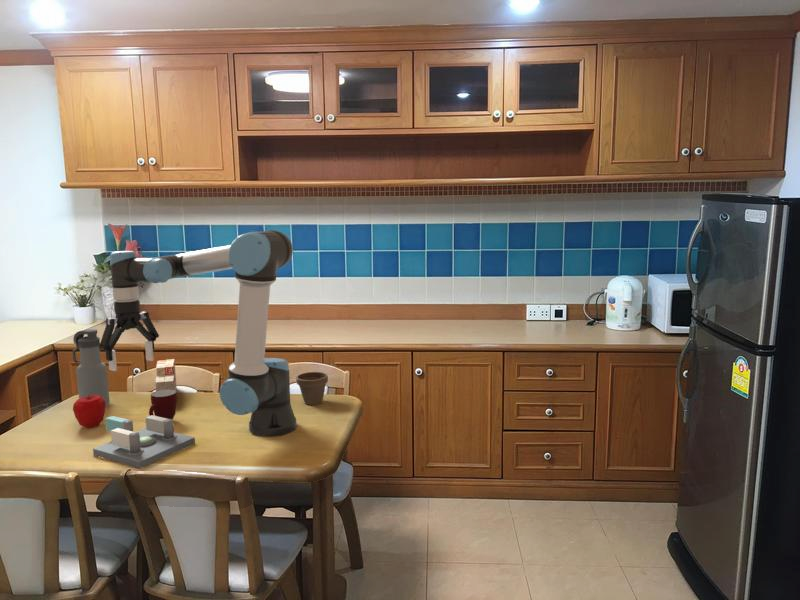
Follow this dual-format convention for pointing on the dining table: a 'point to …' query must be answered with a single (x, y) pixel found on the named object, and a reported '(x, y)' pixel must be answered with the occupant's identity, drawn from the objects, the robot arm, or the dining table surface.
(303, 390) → the flower pot
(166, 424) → the knob right
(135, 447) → the knob left
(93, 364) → the water bottle
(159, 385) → the stack of blocks
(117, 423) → the teal rectangular block
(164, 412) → the mug
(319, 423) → the dining table surface
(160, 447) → the base
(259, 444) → the dining table surface
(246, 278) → the robot arm
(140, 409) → the dining table surface
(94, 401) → the apple
